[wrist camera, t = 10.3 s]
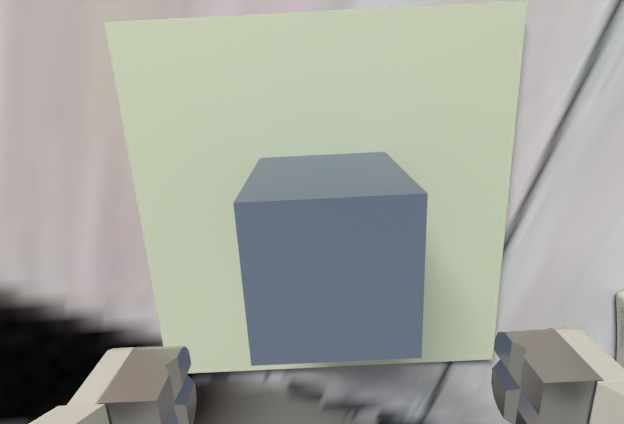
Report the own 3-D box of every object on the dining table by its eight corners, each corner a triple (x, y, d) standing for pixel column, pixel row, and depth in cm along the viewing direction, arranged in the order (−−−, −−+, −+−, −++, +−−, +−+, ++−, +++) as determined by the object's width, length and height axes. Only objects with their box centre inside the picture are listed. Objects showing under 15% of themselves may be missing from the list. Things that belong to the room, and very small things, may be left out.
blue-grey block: (384, 151, 18) (427, 193, 11) (384, 265, 19) (421, 358, 13) (260, 157, 18) (233, 202, 11) (269, 270, 19) (251, 365, 13)
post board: (517, 4, 17) (622, -33, 11) (485, 349, 21) (547, 443, 16) (113, 24, 17) (16, -2, 11) (173, 363, 22) (127, 462, 16)
